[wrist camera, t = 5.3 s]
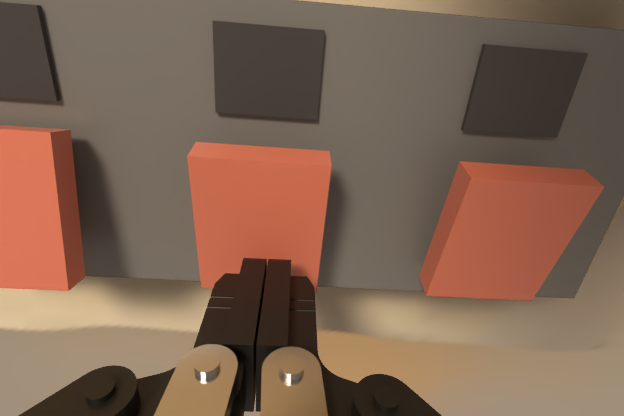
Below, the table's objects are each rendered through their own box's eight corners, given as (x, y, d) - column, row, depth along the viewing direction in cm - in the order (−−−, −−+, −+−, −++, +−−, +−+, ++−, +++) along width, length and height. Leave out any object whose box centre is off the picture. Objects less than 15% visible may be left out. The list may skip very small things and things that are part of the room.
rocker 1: (70, 129, 12) (50, 132, 11) (85, 276, 13) (68, 290, 12) (-66, 120, 11) (-100, 122, 10) (-37, 271, 13) (-64, 285, 12)
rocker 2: (329, 150, 11) (331, 165, 11) (315, 273, 14) (316, 293, 13) (195, 141, 11) (187, 155, 10) (207, 268, 14) (201, 287, 13)
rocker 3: (584, 169, 12) (604, 187, 11) (519, 280, 15) (531, 300, 14) (459, 160, 12) (471, 178, 11) (419, 275, 14) (425, 295, 14)
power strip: (613, 34, 15) (706, 37, 11) (528, 252, 19) (577, 301, 16) (-213, -41, 13) (-393, -64, 9) (-97, 219, 17) (-192, 266, 14)
